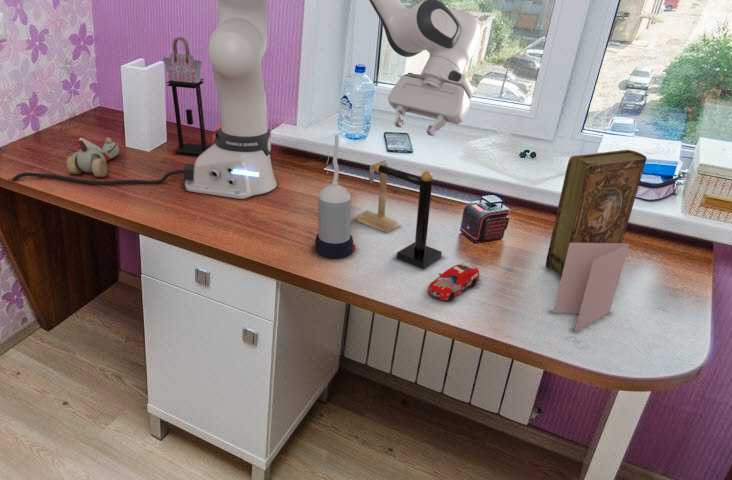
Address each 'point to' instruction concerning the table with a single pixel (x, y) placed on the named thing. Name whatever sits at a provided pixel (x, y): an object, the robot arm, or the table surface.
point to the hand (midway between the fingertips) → (413, 130)
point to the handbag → (188, 76)
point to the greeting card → (590, 280)
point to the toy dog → (92, 158)
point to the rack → (418, 250)
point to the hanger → (373, 218)
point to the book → (595, 201)
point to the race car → (454, 282)
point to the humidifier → (334, 218)
